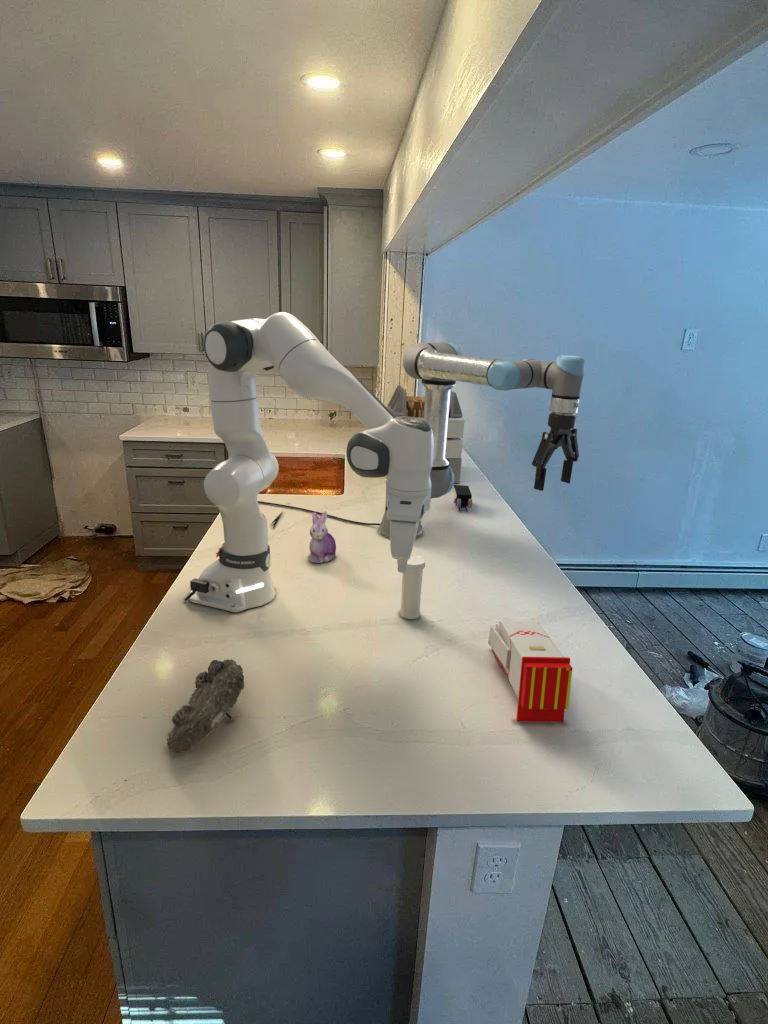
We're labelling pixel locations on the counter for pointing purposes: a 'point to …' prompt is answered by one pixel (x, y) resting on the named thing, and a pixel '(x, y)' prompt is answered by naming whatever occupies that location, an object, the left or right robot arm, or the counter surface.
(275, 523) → the feather
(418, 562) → the lid
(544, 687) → the toy
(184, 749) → the fossil
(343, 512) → the counter surface
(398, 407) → the transformer
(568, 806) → the counter surface
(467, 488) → the figurine character
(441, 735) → the counter surface
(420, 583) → the jar
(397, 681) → the counter surface
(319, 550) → the figurine
